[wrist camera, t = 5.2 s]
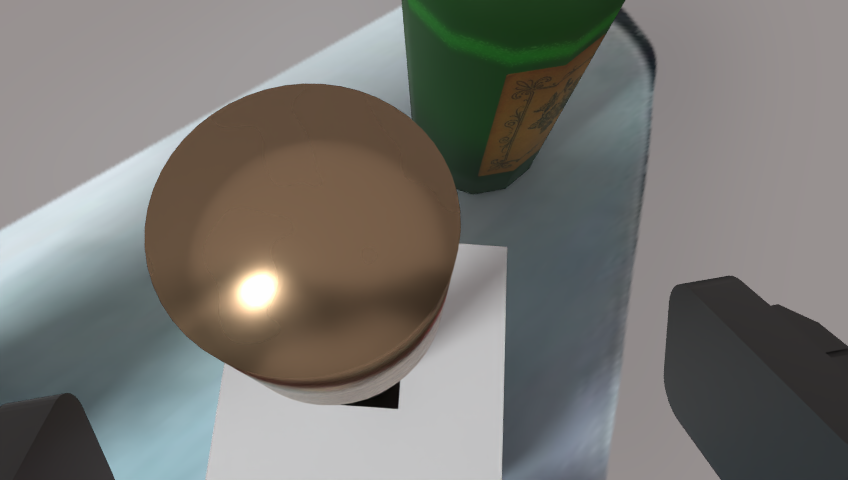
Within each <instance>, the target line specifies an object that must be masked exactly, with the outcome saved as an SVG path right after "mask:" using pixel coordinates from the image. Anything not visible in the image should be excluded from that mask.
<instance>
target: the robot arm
mask: <svg viewBox="0 0 848 480" xmlns="http://www.w3.org/2000/svg"><path fill="white" fill-rule="evenodd" d="M664 383H665V390H666V393H667V397H668V401H669V403H670V406H671V408H672V410H673V412H674V414H675V416H676V418H677V419H678V421H679V422H680V424H681V425H682V426H683V428H684V429H685V430H686V432H687V433H688V435H689V436H690V437H691V439H692V440H693V442H694V443H695V444H696V446H697V447H698V449H699V450H700V451H701V453H702V454H703V456H704V457H705V458H706V460H707V461H708V462H709V464H710V465H711V467H712V468H713V469H714V471H715V472H716V474H717V475H718V476H719V477H720V479H721V480H848V346H847V345H846V344H844V343H843V342H842V341H841V340H839V339H838V338H837V337H836V336H834V335H833V334H832V333H831V332H829V331H828V330H827V329H826V328H824V327H823V326H822V325H821V324H819V323H818V322H816V321H813V320H811V319H809V318H807V317H804V316H803V315H800V314H798V313H796V312H794V311H791V310H789V309H787V308H785V307H783V306H781V305H772V306H770V305H769V304H768V303H767V302H765V301H764V300H763V299H762V298H761V297H760V296H758V295H757V294H756V293H755V292H754V291H752V290H751V289H750V288H749V287H748V286H747V285H745V284H744V283H743V282H742V281H741V280H739V279H738V278H736V277H734V276H725V277H719V278H713V279H708V280H702V281H696V282H690V283H685V284H679V285H676V286H675V287H674V288H673V290H672V292H671V295H670V300H669V311H668V326H667V338H666V352H665V364H664ZM0 480H115V479H114V476H113V474H112V472H111V469H110V467H109V465H108V463H107V460H106V458H105V456H104V454H103V451H102V449H101V447H100V445H99V443H98V440H97V438H96V436H95V434H94V431H93V429H92V427H91V425H90V422H89V420H88V418H87V416H86V413H85V411H84V409H83V407H82V405H81V403H80V402H79V400H78V399H77V398H76V397H75V396H74V395H72V394H70V393H65V394H59V395H53V396H47V397H42V398H36V399H30V400H24V401H19V402H13V403H7V404H4V405H2V406H1V407H0Z"/></svg>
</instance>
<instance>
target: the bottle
mask: <svg viewBox="0 0 848 480" xmlns="http://www.w3.org/2000/svg"><path fill="white" fill-rule="evenodd" d="M624 2H625V0H402V10H403V22H404V33H405V45H406V57H407V68H408V80H409V91H410V103H411V114H412V120H413V121H414V122H415V123H416V124H417V125H418V126H419V127H420V128H422V129H423V131H424V132H425V133H426V134H427V135H428V136H429V138H430V139H431V140H432V141H433V142H434V144H435V145H436V147H437V148H438V150H439V151H440V153H441V155H442V156H443V158H444V159H445V162H446V164H447V166H448V168H449V170H450V172H451V174H452V177H453V181H454V184H455V187H456V189H458V190H461V191H465V192H468V193H471V194H477V193H482V192H488V191H494V190H499V189H505V188H506V187H507V186H509V185H510V184H511V183H512V182H514V181H515V180H516V179H517V178H518V177H520V176H521V175H522V174H523V173H524V172H526V171H527V170H528V169H529V167H530V166H531V164H532V162H533V160H534V159H535V157H536V155H537V153H538V152H539V150H540V148H541V146H542V145H543V143H544V141H545V140H546V138H547V136H548V134H549V133H550V131H551V129H552V127H553V126H554V124H555V122H556V120H557V119H558V117H559V115H560V113H561V112H562V110H563V108H564V106H565V105H566V103H567V101H568V99H569V98H570V96H571V94H572V92H573V91H574V89H575V87H576V85H577V84H578V82H579V80H580V78H581V77H582V75H583V73H584V71H585V70H586V68H587V66H588V64H589V63H590V61H591V59H592V57H593V56H594V54H595V52H596V50H597V49H598V47H599V45H600V43H601V42H602V40H603V38H604V37H605V35H606V33H607V31H608V30H609V28H610V26H611V24H612V23H613V21H614V19H615V17H616V16H617V14H618V12H619V10H620V9H621V7H622V5H623V3H624Z"/></svg>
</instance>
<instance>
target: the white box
mask: <svg viewBox="0 0 848 480" xmlns="http://www.w3.org/2000/svg"><path fill="white" fill-rule="evenodd" d="M506 275H507V247H501V246H487V245H473V244H459V248H458V253H457V257H456V261H455V265H454V269H453V273H452V277H451V281H450V285H449V289H448V293H447V297H446V301H445V305H444V308H443V312H442V316H441V320H440V324H439V328H438V330H437V332H436V335H435V337H434V340H433V342H432V343H431V345H430V347H429V349H428V350H427V352H426V354H425V355H424V356H423V358H422V359H421V360H420V362H419V363H418V364H417V366H416V367H415V368H414V369H413V370H412V371H411V372H410V373H409V374H408V375H407V376H405V377H404V378H403V379H402V380H400V381H399V382H398V383H396V384H395V385H394V386H392V387H390V388H389V389H387V390H386V391H385V392H384V393H383V394H382V395H381V396H380V397H378V398H376V399H374V400H361V401H357V402H354V403H349V404H341V405H316V404H308V403H303V402H300V401H296V400H293V399H290V398H287V397H285V396H283V395H280V394H278V393H276V392H274V391H273V390H271V389H269V388H267V387H266V386H264V385H262V384H260V383H259V382H257V381H255V380H254V379H252V378H250V377H248V376H247V375H245V374H243V373H241V372H240V371H238V370H236V369H234V368H233V367H231V366H229V365H228V364H226V363H224V369H223V375H222V381H221V387H220V393H219V400H218V406H217V412H216V418H215V424H214V430H213V436H212V442H211V448H210V454H209V460H208V467H207V473H206V479H205V480H502V445H503V402H504V360H505V317H506Z"/></svg>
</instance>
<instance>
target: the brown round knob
mask: <svg viewBox="0 0 848 480" xmlns="http://www.w3.org/2000/svg"><path fill="white" fill-rule="evenodd" d="M460 232H461V223H460V207H459V200H458V194H457V190H456V187H455V184H454V181H453V177H452V174H451V172H450V170H449V168H448V166H447V164H446V162H445V159H444V158H443V156H442V155H441V153H440V151H439V150H438V148H437V147H436V145H435V144H434V142H433V141H432V140H431V139H430V138H429V136H428V135H427V134H426V133H425V132H424V131H423V129H422V128H420V127H419V126H418V125H417V124H416V123H415V122H414V121H413V120H412V119H410V118H409V117H408V116H407V115H405V114H404V113H402V112H401V111H400V110H398V109H397V108H395V107H394V106H392V105H390V104H388V103H386V102H384V101H382V100H381V99H379V98H377V97H374V96H371V95H369V94H366V93H363V92H361V91H357V90H353V89H349V88H345V87H341V86H334V85H326V84H296V85H285V86H280V87H275V88H271V89H266V90H263V91H260V92H257V93H254V94H251V95H248V96H245V97H243V98H241V99H239V100H237V101H234V102H232V103H230V104H228V105H227V106H225V107H223V108H222V109H220V110H218V111H217V112H215V113H214V114H212V115H211V116H209V117H208V118H207V119H206V120H204V121H203V122H202V123H200V124H199V125H198V126H197V127H196V128H195V129H194V130H193V131H192V132H191V133H190V134H189V135H188V136H187V137H186V138H185V139H184V140H183V141H182V142H181V143H180V145H179V146H178V147H177V148H176V150H175V151H174V152H173V153H172V155H171V156H170V158H169V159H168V161H167V163H166V164H165V166H164V168H163V169H162V171H161V173H160V175H159V177H158V180H157V182H156V184H155V187H154V189H153V192H152V195H151V199H150V202H149V205H148V210H147V216H146V223H145V253H146V260H147V267H148V270H149V274H150V277H151V280H152V284H153V287H154V289H155V291H156V293H157V295H158V297H159V300H160V302H161V304H162V305H163V307H164V308H165V310H166V311H167V313H168V314H169V316H170V318H171V319H172V321H173V322H174V323H175V324H176V325H177V326H178V327H179V328H180V330H181V331H182V332H183V333H184V334H185V335H186V336H187V337H188V338H189V339H191V340H192V341H193V342H194V343H195V344H197V345H198V346H199V347H200V348H201V349H203V350H204V351H206V352H208V353H209V354H211V355H212V356H214V357H216V358H217V359H219V360H221V361H222V362H224V363H226V364H228V365H229V366H231V367H233V368H234V369H236V370H238V371H240V372H241V373H243V374H245V375H247V376H248V377H250V378H252V379H254V380H255V381H257V382H259V383H260V384H262V385H264V386H266V387H267V388H269V389H271V390H273V391H274V392H276V393H278V394H280V395H283V396H285V397H287V398H290V399H293V400H296V401H300V402H303V403H308V404H316V405H341V404H349V403H354V402H357V401H361V400H374V399H376V398H378V397H380V396H381V395H382V394H383V393H384V392H385V391H386V390H387V389H389V388H390V387H392V386H394V385H395V384H396V383H398V382H399V381H400V380H402V379H403V378H404V377H405V376H407V375H408V374H409V373H410V372H411V371H412V370H413V369H414V368H415V367H416V366H417V364H418V363H419V362H420V360H421V359H422V358H423V356H424V355H425V354H426V352H427V350H428V349H429V347H430V345H431V343H432V342H433V340H434V337H435V335H436V332H437V330H438V328H439V324H440V320H441V316H442V312H443V308H444V305H445V301H446V297H447V293H448V289H449V285H450V281H451V277H452V273H453V269H454V265H455V261H456V257H457V253H458V248H459V240H460Z"/></svg>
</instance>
